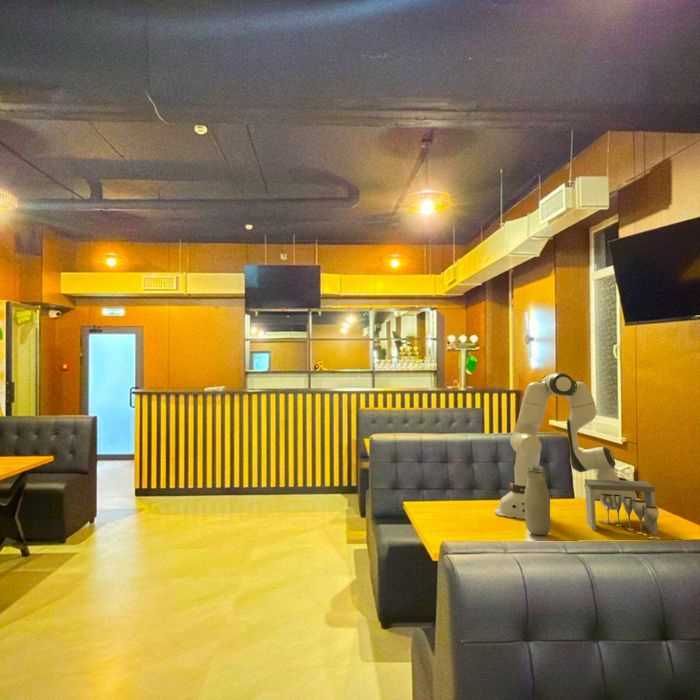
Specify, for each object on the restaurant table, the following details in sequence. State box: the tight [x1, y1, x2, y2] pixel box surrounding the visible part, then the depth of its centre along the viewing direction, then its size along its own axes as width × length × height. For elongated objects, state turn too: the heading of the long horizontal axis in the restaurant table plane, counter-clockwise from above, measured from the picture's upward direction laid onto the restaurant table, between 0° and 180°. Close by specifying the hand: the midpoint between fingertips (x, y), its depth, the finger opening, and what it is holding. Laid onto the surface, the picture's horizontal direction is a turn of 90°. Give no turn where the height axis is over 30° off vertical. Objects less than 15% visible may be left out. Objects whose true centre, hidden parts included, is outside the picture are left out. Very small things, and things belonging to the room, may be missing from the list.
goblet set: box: [599, 494, 661, 540], centre depth 197 cm, size 28×6×13 cm, turn 15°
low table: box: [584, 478, 659, 535], centre depth 199 cm, size 24×12×19 cm, turn 73°
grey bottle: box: [524, 465, 552, 536], centre depth 193 cm, size 10×10×28 cm
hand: (614, 509), depth 208 cm, fingers closed
